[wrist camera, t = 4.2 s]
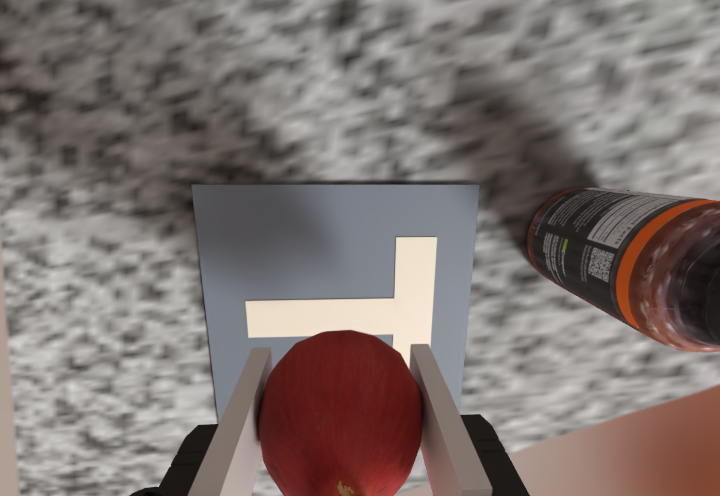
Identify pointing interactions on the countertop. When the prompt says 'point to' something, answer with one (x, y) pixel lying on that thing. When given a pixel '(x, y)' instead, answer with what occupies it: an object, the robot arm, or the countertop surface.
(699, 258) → the supplement bottle
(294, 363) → the onion
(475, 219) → the letter card
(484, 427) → the robot arm
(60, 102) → the countertop surface
